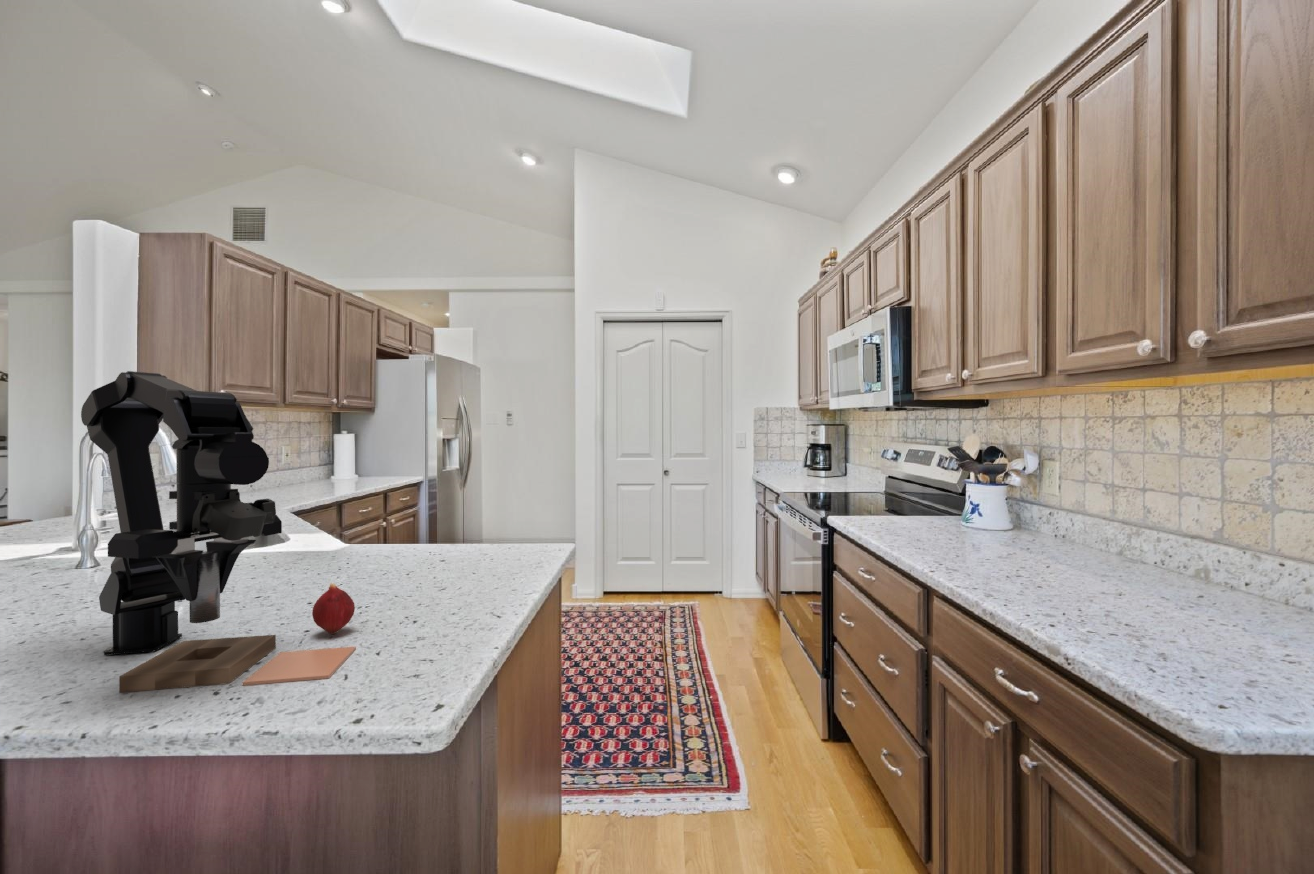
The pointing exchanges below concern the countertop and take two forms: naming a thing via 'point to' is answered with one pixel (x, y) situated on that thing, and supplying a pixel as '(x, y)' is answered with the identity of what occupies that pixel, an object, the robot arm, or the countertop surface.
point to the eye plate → (198, 663)
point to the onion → (333, 609)
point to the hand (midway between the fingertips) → (204, 596)
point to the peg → (207, 589)
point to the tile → (301, 666)
